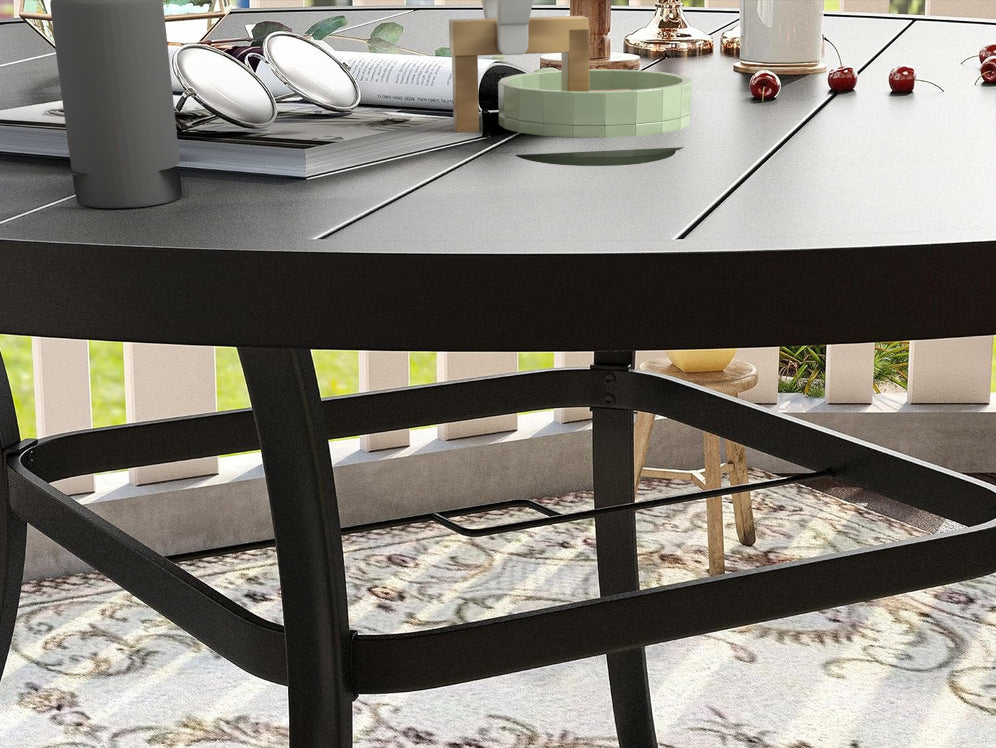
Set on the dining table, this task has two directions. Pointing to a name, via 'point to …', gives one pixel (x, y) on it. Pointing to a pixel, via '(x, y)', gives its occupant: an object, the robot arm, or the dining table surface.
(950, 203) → the dining table surface
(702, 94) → the dining table surface
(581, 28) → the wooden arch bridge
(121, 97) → the bottle
